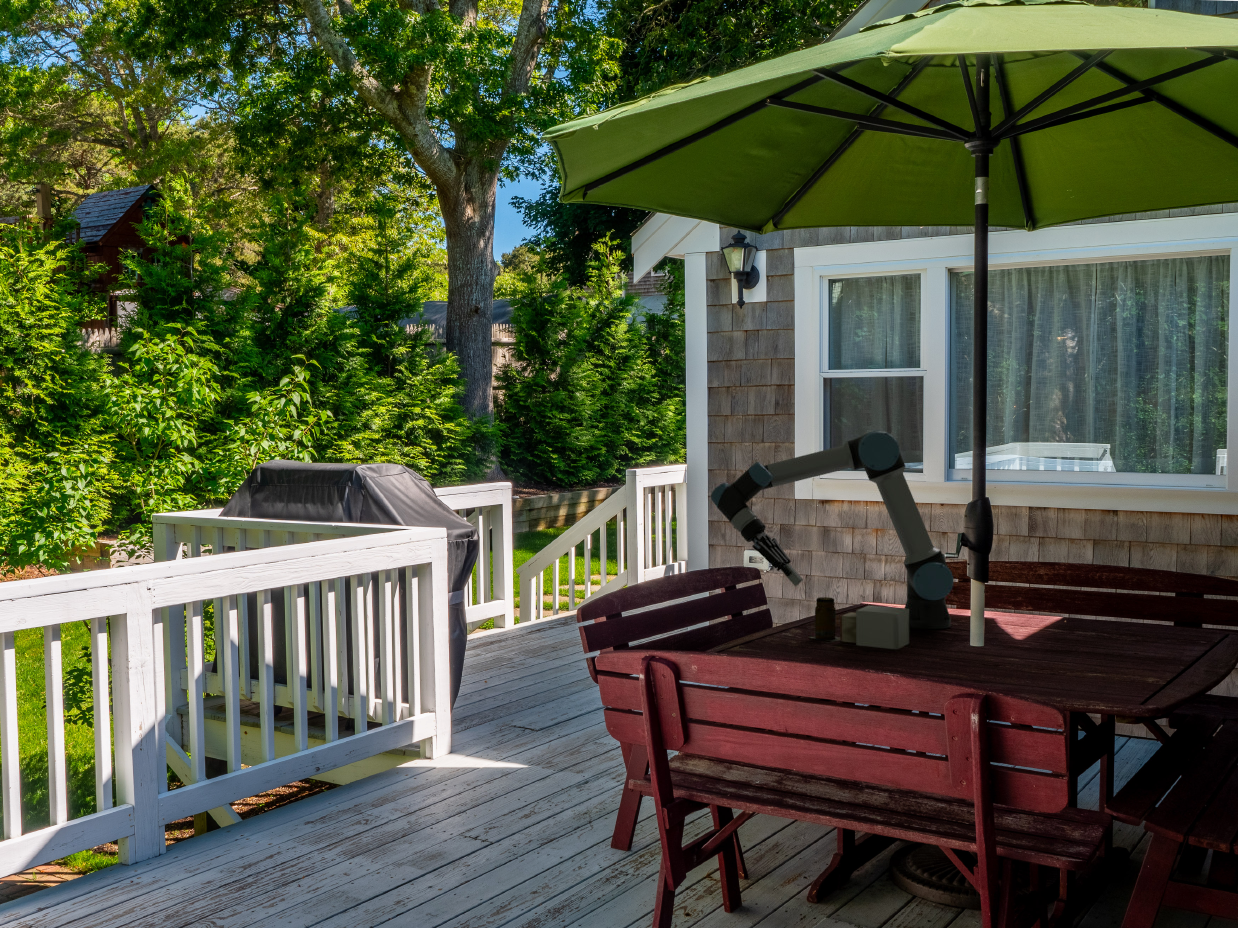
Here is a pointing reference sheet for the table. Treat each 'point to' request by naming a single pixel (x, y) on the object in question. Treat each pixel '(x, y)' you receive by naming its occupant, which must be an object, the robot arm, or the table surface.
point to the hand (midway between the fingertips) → (798, 582)
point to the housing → (882, 627)
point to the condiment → (825, 620)
